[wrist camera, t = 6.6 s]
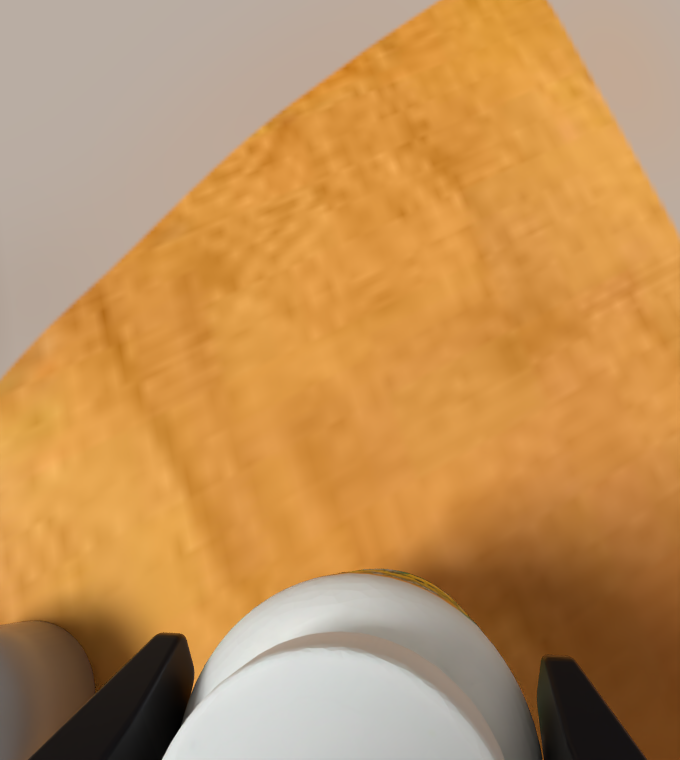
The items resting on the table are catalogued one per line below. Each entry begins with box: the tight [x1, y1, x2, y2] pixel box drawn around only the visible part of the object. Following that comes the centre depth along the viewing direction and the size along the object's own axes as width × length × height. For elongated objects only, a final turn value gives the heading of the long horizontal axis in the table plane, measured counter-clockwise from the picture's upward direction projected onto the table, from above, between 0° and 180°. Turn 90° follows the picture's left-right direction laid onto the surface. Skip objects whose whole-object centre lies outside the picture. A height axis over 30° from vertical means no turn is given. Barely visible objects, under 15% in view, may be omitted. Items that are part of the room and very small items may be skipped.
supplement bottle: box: [162, 569, 543, 760], centre depth 10 cm, size 5×5×10 cm
